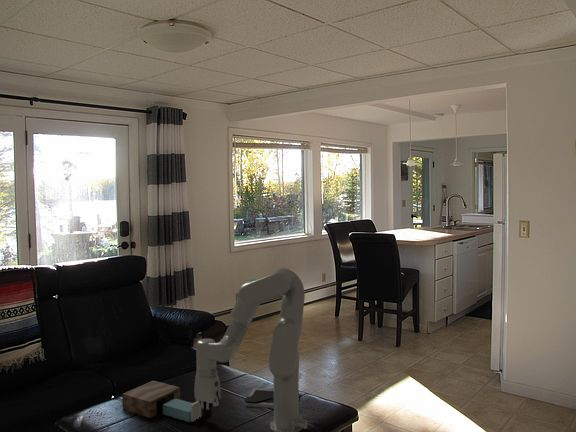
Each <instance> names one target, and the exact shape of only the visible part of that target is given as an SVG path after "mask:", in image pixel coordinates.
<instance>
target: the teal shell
mask: <svg viewBox="0 0 576 432" xmlns="http://www.w3.org/2000/svg"><path fill="white" fill-rule="evenodd" d="M162 415H164V416H168V417H170V416H171V418H174V419H177V420H181V421H183V420H184V422H187V423H190V422H195V421H196V419H197V420H198V419H200V418H202V408H201V404H200V403H199V402H197V401H195V402H190V401H186V400H183V399H180V400H179V399H176V398H175V399H173V400H171V401H169V402H167V403H163V404H162ZM199 417H200V418H199Z"/></svg>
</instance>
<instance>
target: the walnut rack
mask: <svg viewBox="0 0 576 432" xmlns="http://www.w3.org/2000/svg"><path fill="white" fill-rule="evenodd" d="M121 395H122V398H121V399H122V401H121V402H122V410H125V411H127V412H129V413H134V414H135V415H136V414H137V415H139V416H142V417H146V418H149V419H150V418H153V417H155V416H157V414H158V413H157V402H161V403H163V404H165V403H167V402H169V401H171V400H173V399H175V398H176V399H179V400H181V388H180V386H176V385H173V384H172V385H171V384H168V383H165V382H160V381H156V380H151V381H149V382H146V383H145V384H142V385H139V386H137V387H135V388H133V389H131V390H128V391H126V392H124V393H122V394H121Z"/></svg>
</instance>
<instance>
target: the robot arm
mask: <svg viewBox="0 0 576 432" xmlns="http://www.w3.org/2000/svg"><path fill="white" fill-rule="evenodd" d="M237 296H238V297H237V299H236V301H235V304H234V306H233V307H232V309H231V312H230V322H229V324H228V327H227V328H226V332H225V333H224V335H223V337H222V338H221V339H220V340H219V341H218V342H216V341H215V340H214V339H213V338H201V339H199V340H197V342H196V344H195V345H196V347H195V349H196V351H195V352H196V353H195V354H196V374H195V379H194V387H193V388H194V389H193V395H194V399H195V402H199V403H200V404H201V410H202V419H203V420H205V421H207V420H209V419H211V418H212V417H213V416H212V413H213V411H212V409H213V407H217V406H219V405H220V404H219V401H220V400H221V399H222V391H221V383H220V382H221V381H220V378H219V375H218V374H219V371H218V370H217V362H218V363H227V362H230V360H231V359H232V358H233V356H234V355H235V353H237V352H238V350H239V348H240V346H241V345H242V343H243V339H245V336H246V333H247V331H248V329H249V327H250V326H251V323H252V322H253V319H254V317H255V315H256V313H257V311H258V309H259V307H260V305H261V304H264V303H265V302H269V301H272V300H274V299H277V298H280V297H282V299H281V302H280V303H281V305H280V312H279V318H278V322H277V324H276V326H275V327H274V329H273V332H272V336H271V337H272V338H271V343H270V350H269V351H270V352H269V358H268V368H269V371H270V373H271V374H272V375H273V380H272V381H273V390H274V408H273V420H271V421H270V423H269V429H270V430H271V431H272V432H300V431H302V430H303V429H304V430H306V429H308V420H303V419H302V414H299V413H300V412H299V411H300V410H299V409H300V405H299V404H300V403H299V402H300V401H299V398H300V397H299V395H300V391H299V390H300V389H299V386H300V385H299V383H300V382H299V379H300V378H299V376H300V374H299V373H300V353H299V351H298V348H299V347H298V346H299V341H300V340H299V339H300V338H301V335H302V327H303V326H302V325H303V316H304V307H305V296H306V295H305V287H304V284H303V282H302V279H301V278H300V277H299V276H298V274H296V272H294V271H293V270H291V269H290V268H284V267H283V268H278V269H276V270H275V271H274V272H272V274H269V275H266V276H265V277H262V278H259V279H250V280H247V281H246V282H244V283H243V284H242V285H241V286H240V288H239V290H238V295H237Z"/></svg>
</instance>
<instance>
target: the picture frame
mask: <svg viewBox="0 0 576 432" xmlns="http://www.w3.org/2000/svg"><path fill="white" fill-rule="evenodd" d="M243 406H244V407H247V406H248V407H249V408H261V409H262V408H264V409H268V408H269V409H274V388H273V389H268V388H252V390H251V392H250V393H249V395H248V396H247V397H246V398H245V399H244V401H243Z"/></svg>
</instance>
